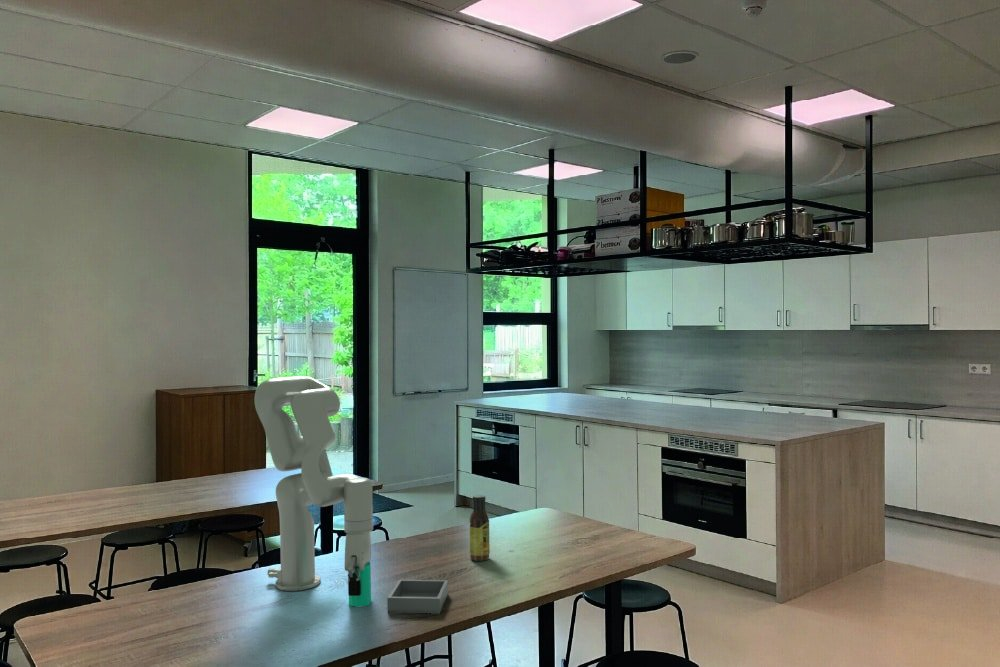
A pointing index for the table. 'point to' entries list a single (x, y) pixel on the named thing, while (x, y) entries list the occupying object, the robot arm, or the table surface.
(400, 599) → the box
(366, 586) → the candle
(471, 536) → the sauce bottle
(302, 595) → the table surface
